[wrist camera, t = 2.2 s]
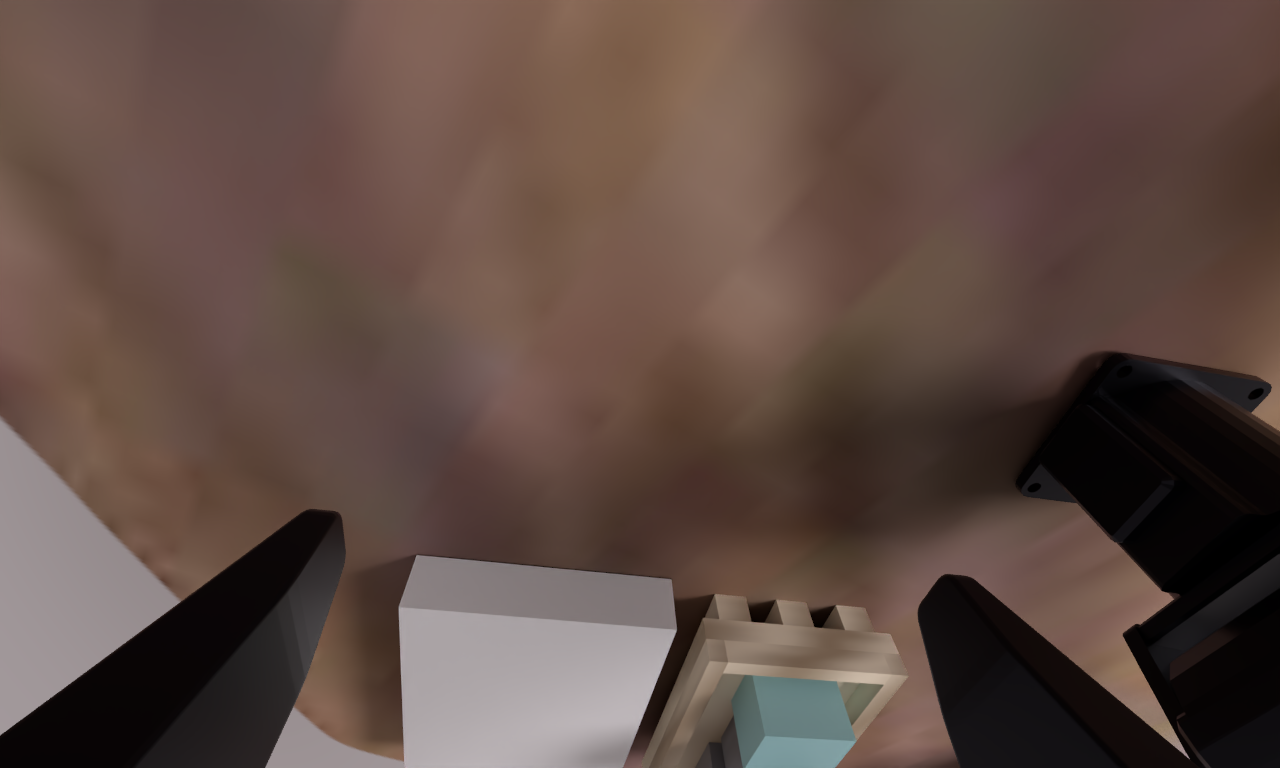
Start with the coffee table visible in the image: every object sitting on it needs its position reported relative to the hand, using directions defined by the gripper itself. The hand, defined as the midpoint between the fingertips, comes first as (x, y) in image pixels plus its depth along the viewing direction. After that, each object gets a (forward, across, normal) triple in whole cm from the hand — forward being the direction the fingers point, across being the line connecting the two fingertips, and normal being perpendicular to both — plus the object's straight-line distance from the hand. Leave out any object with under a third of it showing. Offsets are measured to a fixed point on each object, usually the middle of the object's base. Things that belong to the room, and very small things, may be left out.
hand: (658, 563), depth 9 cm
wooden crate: (+11, -10, +22) cm, 26 cm away
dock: (+11, +1, +22) cm, 24 cm away
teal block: (+9, -10, +18) cm, 23 cm away
